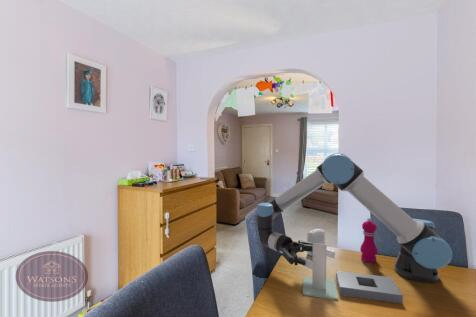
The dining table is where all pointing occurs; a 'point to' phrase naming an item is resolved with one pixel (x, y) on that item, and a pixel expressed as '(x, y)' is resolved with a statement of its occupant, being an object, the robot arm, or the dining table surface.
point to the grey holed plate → (380, 291)
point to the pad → (327, 293)
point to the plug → (319, 266)
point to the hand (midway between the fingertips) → (324, 260)
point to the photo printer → (316, 237)
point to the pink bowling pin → (368, 242)
